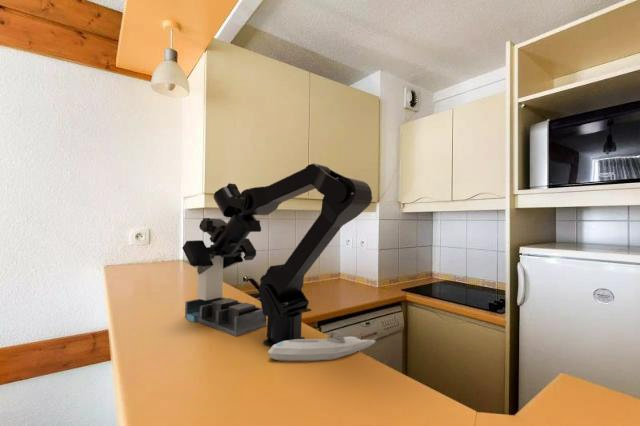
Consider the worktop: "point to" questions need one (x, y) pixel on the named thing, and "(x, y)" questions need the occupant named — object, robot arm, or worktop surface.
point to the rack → (226, 315)
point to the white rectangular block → (211, 281)
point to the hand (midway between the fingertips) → (207, 271)
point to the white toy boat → (317, 348)
